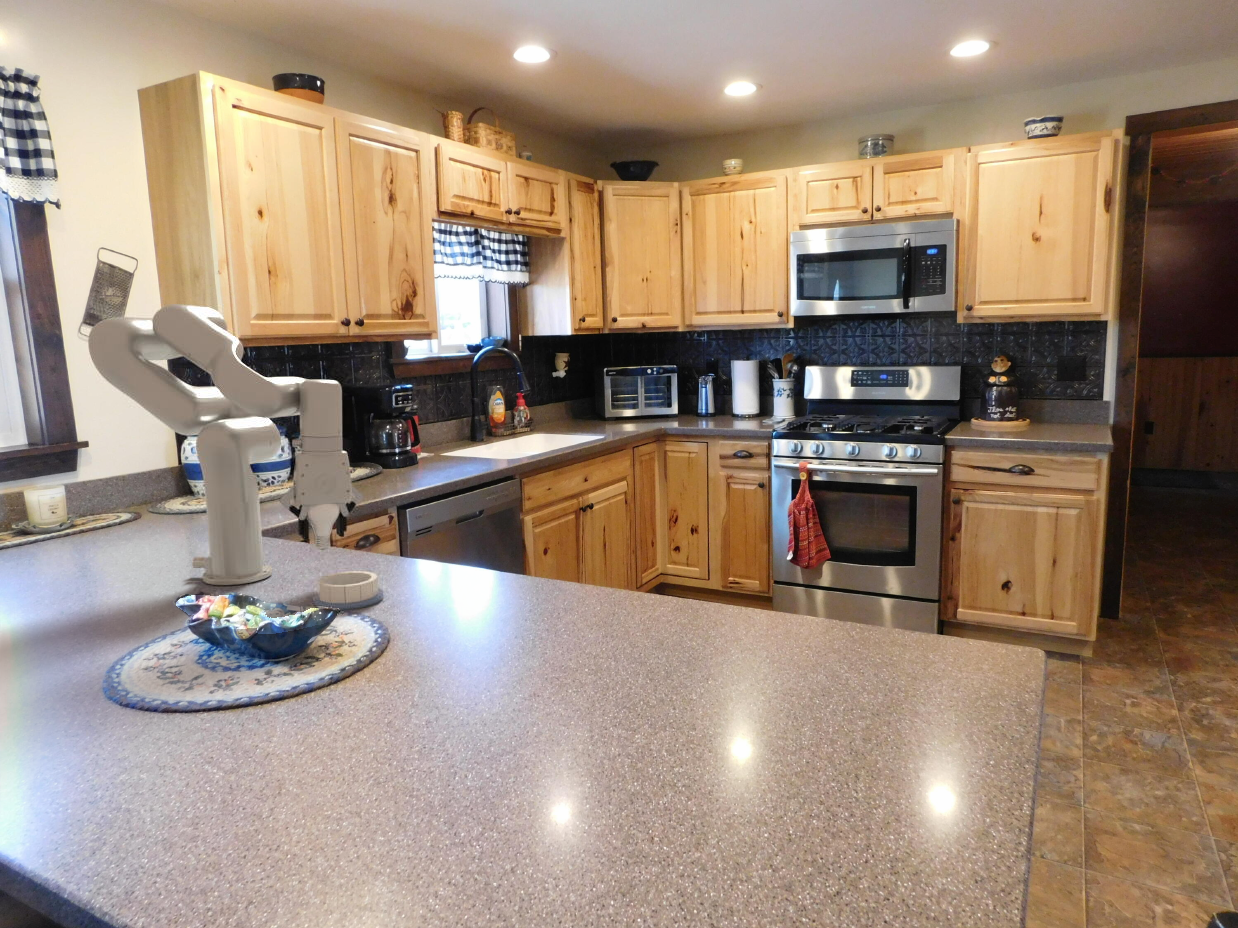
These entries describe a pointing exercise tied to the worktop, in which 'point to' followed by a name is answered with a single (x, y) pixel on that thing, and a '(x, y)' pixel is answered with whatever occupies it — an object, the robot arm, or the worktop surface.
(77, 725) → the worktop surface
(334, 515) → the lightbulb
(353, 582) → the holder
